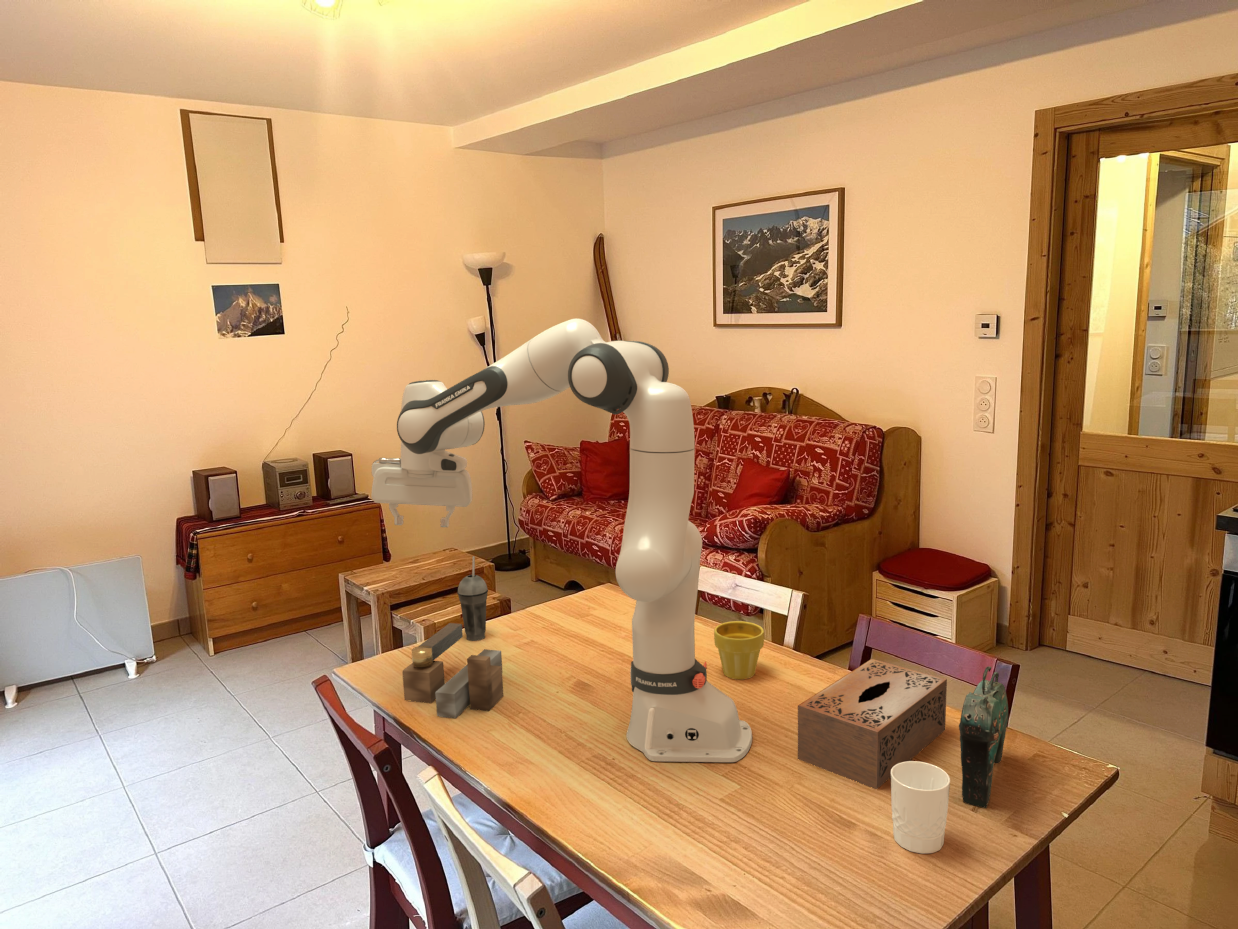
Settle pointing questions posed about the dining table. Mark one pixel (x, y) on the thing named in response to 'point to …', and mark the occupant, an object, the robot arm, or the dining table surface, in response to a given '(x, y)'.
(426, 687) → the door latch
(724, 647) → the plant pot
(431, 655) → the bar
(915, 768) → the white cup
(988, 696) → the dark green upright piece
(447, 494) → the robot arm
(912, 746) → the tissue box cover
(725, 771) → the dining table surface
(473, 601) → the beverage cup
